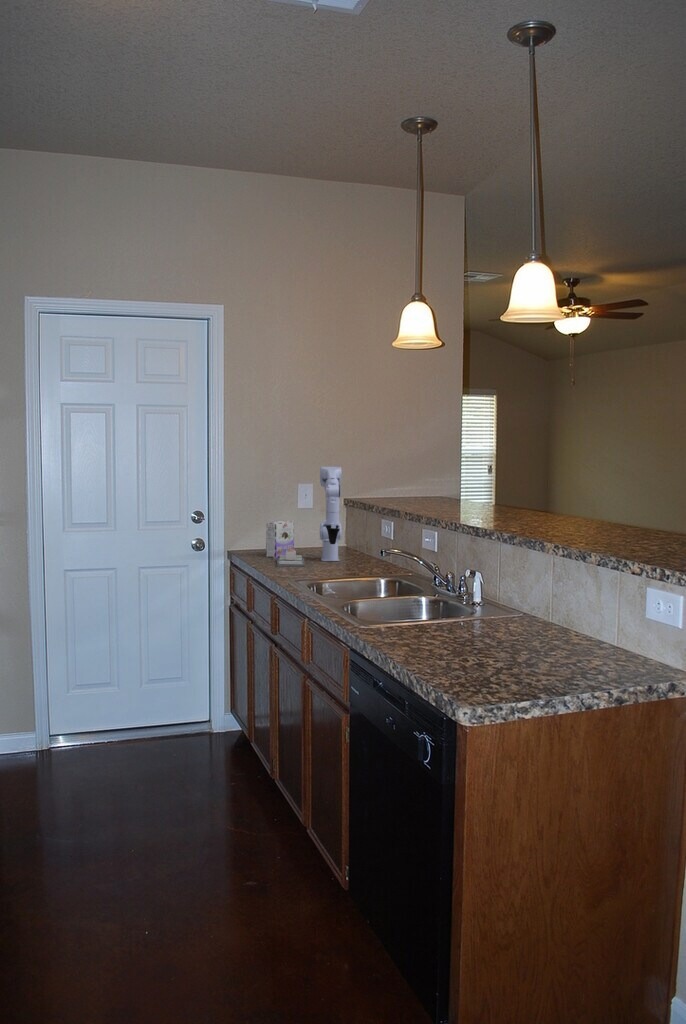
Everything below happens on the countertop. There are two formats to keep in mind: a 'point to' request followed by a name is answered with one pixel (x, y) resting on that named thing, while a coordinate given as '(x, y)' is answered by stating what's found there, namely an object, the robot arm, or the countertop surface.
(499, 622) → the countertop surface
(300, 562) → the rail mat
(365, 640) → the countertop surface
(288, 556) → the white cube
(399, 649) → the countertop surface
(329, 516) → the robot arm
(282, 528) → the candy box
